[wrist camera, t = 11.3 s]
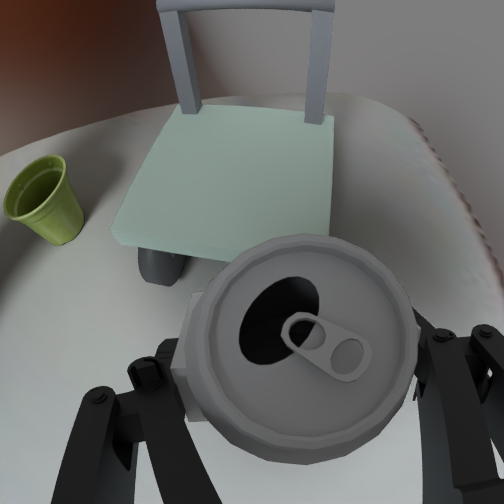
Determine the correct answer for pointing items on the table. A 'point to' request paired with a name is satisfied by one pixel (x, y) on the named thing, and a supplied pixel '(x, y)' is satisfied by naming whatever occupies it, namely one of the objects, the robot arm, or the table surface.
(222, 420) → the can
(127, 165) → the table surface
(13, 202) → the plant pot
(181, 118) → the trolley
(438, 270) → the table surface
